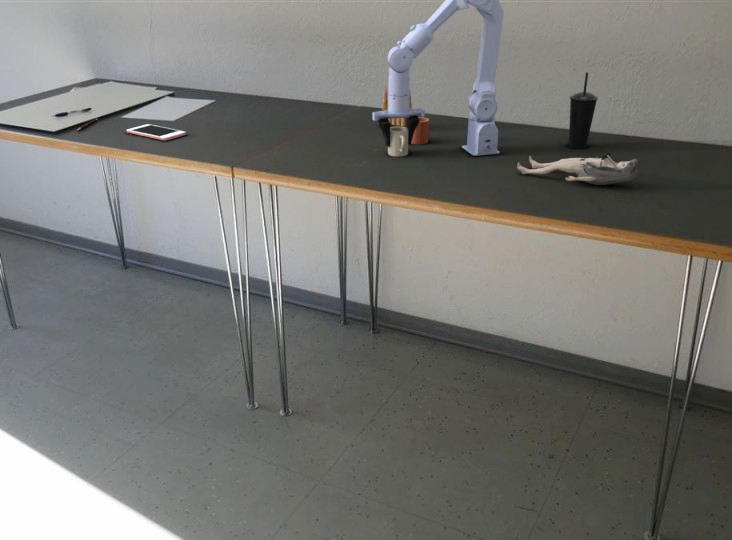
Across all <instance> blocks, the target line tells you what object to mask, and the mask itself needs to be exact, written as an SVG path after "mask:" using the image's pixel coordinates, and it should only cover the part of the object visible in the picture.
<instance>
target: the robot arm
mask: <svg viewBox="0 0 732 540" xmlns="http://www.w3.org/2000/svg"><path fill="white" fill-rule="evenodd" d="M470 6H472V7H474V8H475V9H476V11H477V12H478V13H479V15H481V17H482V19H483V21H482V28H481V36H480V37H481V38H480V43H479V53H478V60H477V61H478V62H477V68H476V78H475V82H474V83H473V86H472V91H471V94H470V95H469V96H468V99H467V106H468V108H469V110H470V113H469V114H468V119H467V121H468V122H467V136H466V139H467V140H466V145H465V144H464V145H461V148H462V149H463V150H465V151H466V152H468V153H469V154H470V155H471V156H473V157H478V156H479V157H480V156H488V155H499V154H500V153H501V151H499V150H498V142H499V128H498V127H497V125H496V124H495V118H496V114H497V111H498V103H497V100H496V95H497V92H496V85H495V82H496V73H497V66H498V58H499V51H500V44H501V43H500V42H501V36H502V28H503V20H504V8H503V6H502V3H501V2H500V0H444V1H443V3H442V4H441V5H440V6H439V7H438V8H437V9H436V10H435V11H434V12H433V13H432V15H431V16H430V17H429V18H428V20H426V22H424V23H417V24H416V25H411V27H410V28H409V30H410V31H409V32H408V34H407V33H406V36H404V37H403V38H402V40H397V42H396V46H393V47H392V48H391V49H390V50H389V51H388V55H387V57H386V61H387V63H388V65H389V67H388V87H387V89H388V90H387V100H388V110H384V111H382V110H379V111H372V116H371V117H372V121H374V122H377V123H378V125H379V127H380V130H381V132H382V135H383V136H382V137H383V140H384V145H385V146H386V147H387V148H388V146H390V126H391V123H389V120H388V119H396V118H406V125H407V128H408V129H409V138H408V146H411V145H412V144H411V142H412V138H413V134H414V132H415V129H416V127H417V125H418V124H419V118H418V117H423V118H426V117H425V116H426V115H425V114H426V109H425V108H423V107H421V108H413V107H412V108H409V90H410V88H411V87H410V85H411V83H410V81H411V77H410V68H411V66H412V65H413V60H414V59H416V58H417V57H418V56H419V55H420V54H421V53H422V52H423V51H424V50H425V49H426V48H427V47H428V46H429V45H430V44H431V43H432V42H433V40H434V33H435V32H436V31H437V30H438V29H439V28H440V27H441V26H442V25H443V24H444V23H446V22H447V21H448V20H449V19H450V18H451V17H452V16H453V15H454V14H455V13H456V12H457V11H458V12H459V11H462V10H468V9H470Z"/></svg>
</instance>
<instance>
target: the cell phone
mask: <svg viewBox="0 0 732 540" xmlns="http://www.w3.org/2000/svg"><path fill="white" fill-rule="evenodd" d="M126 133H128V134H132V135H137V136H142V137H145V138H151V139H156V140H159V141H160V140H161V141H165V142H166V141H170V140H173V139H176V138H177V139H178V138H180V137H183V136H186V135H187V131H184V130H179V129H175V128H169V127H165V126H160V125H155V124H150V123H147V124H143V125H139V126H135V127H131V128H128V129H126Z"/></svg>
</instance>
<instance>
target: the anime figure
mask: <svg viewBox="0 0 732 540" xmlns="http://www.w3.org/2000/svg"><path fill="white" fill-rule="evenodd" d="M611 156H612V153H611V152H607V153H604V154H603V155H602V156H601V157H600V158H599V157H598V156H596V157H587V158H586V157H585V158H584V157H569V158H561V159H559V160H557V161H552V162H547V163H539V162H538V161H536V160H534V159H532V155H529V157H528V159H529V160H528V161H529V163H530V164H531V168H532V169H531V168H530V169H529V168H527V167H524V166H522V165H521V164H520V161H518V162H517V164H516V167H517V170H519V171H520V172H521V174H522V175H527V174H528V175H529V174H530V175H542V176H546V175H549V174H551V173H553V172H555V171H560V172H565V173H570V174H575V175H577V177H575V176H572V175H568V177H566V176H565V178H564V179H565V181H567V182H573V181H579V182H580V181H581V182H584V183H588V184H591V185H597V186H605V185H612V184H619V183H626V182H630V181H633V180H634V179H636V178H637V177H638V176H639V175H640V168H639V159H637V158H633V159H631V160H629V161H628V160H627V161H625V160H623V161H618V160H617V159H616V158H615V157H613V158H615V160H617V162H615V161H614V160H613V159H612V157H611Z"/></svg>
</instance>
